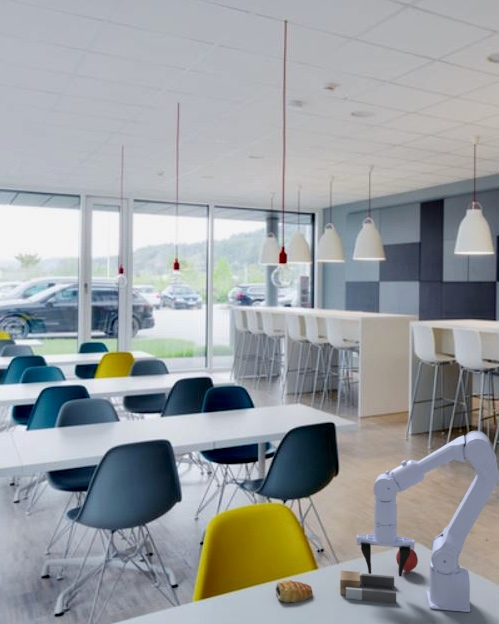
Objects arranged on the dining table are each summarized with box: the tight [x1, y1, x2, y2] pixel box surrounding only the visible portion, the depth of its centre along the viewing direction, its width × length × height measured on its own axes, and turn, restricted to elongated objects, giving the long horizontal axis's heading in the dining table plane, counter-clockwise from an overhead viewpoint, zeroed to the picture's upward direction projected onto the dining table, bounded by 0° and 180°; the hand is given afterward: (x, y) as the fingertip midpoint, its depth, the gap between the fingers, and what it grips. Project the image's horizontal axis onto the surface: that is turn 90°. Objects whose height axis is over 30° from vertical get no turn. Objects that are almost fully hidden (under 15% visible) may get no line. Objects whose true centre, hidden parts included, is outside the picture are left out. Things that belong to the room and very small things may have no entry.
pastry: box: [275, 580, 314, 604], centre depth 149 cm, size 9×7×4 cm
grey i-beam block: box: [345, 573, 397, 604], centre depth 151 cm, size 12×9×2 cm
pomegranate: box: [395, 549, 419, 573], centre depth 162 cm, size 6×6×8 cm
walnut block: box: [339, 570, 361, 596], centre depth 152 cm, size 5×5×4 cm
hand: (384, 573), depth 151 cm, fingers open, 7 cm apart
